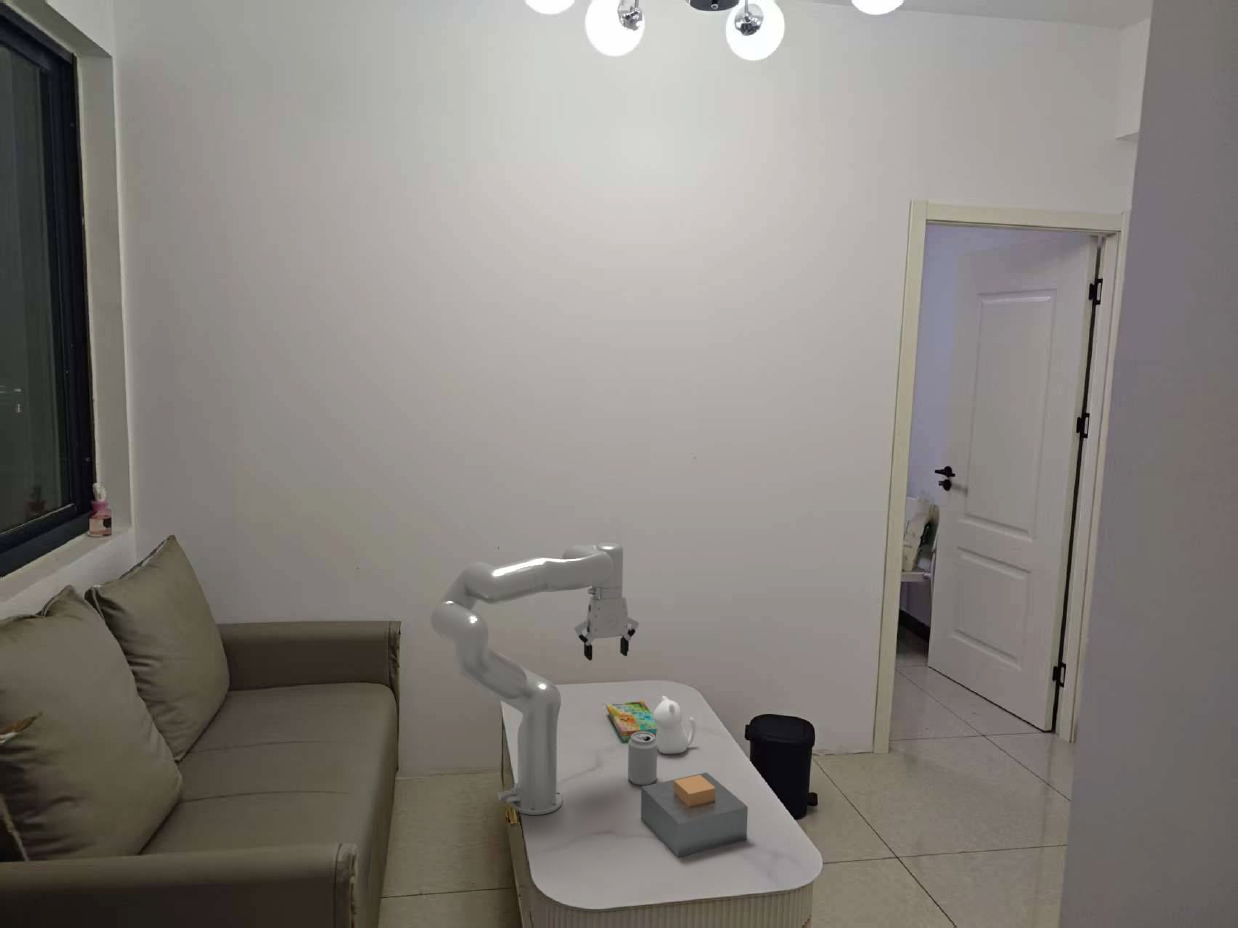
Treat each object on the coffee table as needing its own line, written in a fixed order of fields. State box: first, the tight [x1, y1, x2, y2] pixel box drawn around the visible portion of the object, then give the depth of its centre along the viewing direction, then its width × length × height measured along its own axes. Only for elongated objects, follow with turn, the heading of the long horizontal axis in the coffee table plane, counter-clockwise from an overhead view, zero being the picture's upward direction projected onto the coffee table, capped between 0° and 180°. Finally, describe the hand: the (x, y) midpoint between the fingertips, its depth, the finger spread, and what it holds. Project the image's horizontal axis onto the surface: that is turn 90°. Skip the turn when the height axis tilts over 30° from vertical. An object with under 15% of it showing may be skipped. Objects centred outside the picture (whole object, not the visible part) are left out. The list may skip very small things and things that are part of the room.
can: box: [627, 732, 658, 786], centre depth 230 cm, size 8×8×12 cm
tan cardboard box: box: [673, 774, 716, 806], centre depth 207 cm, size 7×7×9 cm
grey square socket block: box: [640, 772, 749, 859], centre depth 207 cm, size 18×18×8 cm
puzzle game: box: [605, 700, 659, 742], centre depth 263 cm, size 12×5×20 cm
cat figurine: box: [652, 695, 697, 755], centre depth 248 cm, size 9×12×15 cm
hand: (606, 656), depth 228 cm, fingers open, 9 cm apart
